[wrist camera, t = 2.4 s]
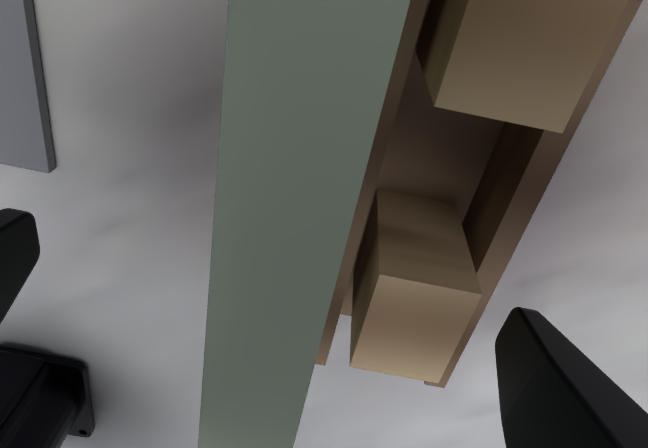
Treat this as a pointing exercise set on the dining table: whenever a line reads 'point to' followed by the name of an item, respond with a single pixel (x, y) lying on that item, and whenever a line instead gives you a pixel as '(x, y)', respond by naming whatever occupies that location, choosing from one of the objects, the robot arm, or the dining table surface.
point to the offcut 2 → (514, 56)
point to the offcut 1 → (411, 288)
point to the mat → (22, 91)
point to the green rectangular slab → (286, 200)
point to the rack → (458, 170)
